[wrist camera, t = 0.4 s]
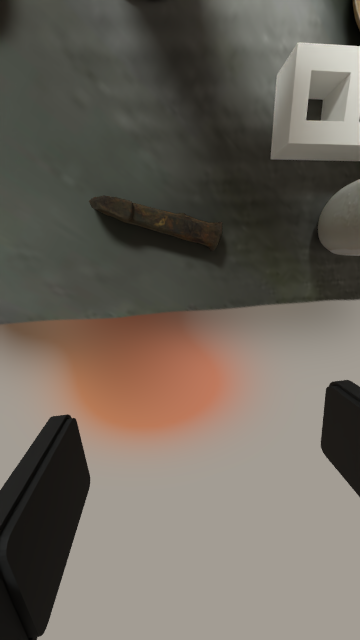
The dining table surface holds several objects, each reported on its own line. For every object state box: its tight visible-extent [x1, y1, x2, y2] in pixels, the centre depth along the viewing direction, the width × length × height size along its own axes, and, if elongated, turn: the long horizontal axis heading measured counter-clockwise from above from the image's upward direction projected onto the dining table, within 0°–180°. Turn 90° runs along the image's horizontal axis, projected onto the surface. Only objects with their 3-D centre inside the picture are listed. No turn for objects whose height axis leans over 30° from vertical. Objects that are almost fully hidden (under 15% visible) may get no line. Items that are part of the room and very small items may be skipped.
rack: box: [270, 43, 360, 161], centre depth 31 cm, size 10×16×5 cm, turn 91°
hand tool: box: [89, 196, 222, 251], centre depth 33 cm, size 19×4×5 cm, turn 74°
